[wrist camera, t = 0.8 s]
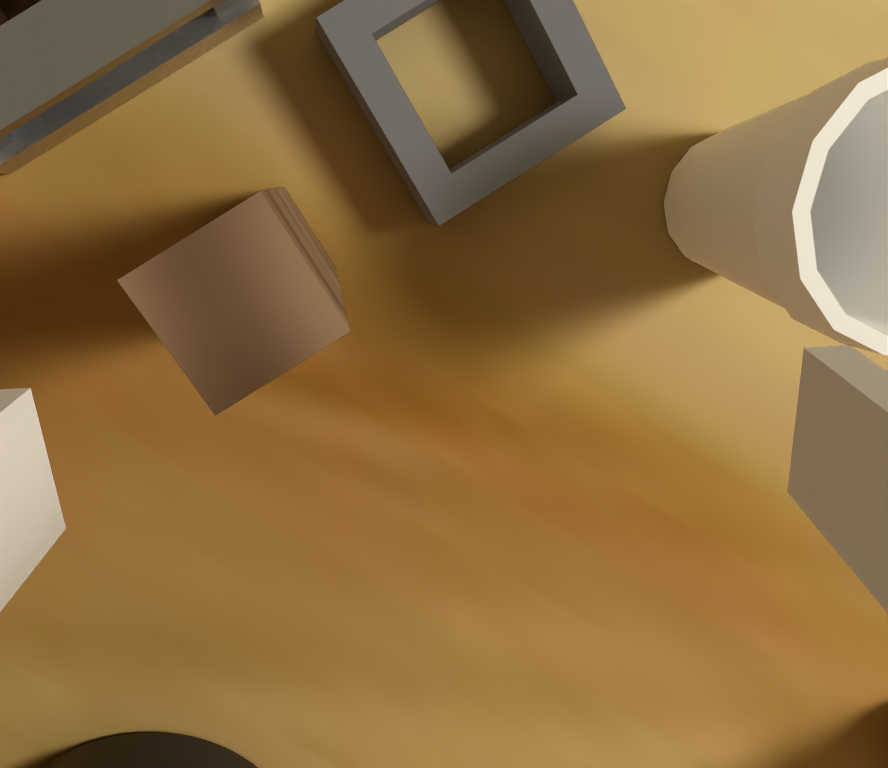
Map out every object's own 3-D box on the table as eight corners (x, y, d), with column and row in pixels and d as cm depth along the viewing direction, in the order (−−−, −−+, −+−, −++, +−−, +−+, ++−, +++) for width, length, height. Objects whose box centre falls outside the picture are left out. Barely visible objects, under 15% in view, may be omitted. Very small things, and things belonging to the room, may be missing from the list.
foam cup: (592, 184, 37) (738, 184, 25) (752, 50, 37) (979, -20, 24) (705, 342, 40) (888, 413, 27) (855, 217, 40) (1108, 231, 27)
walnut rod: (257, 316, 36) (215, 415, 21) (204, 236, 35) (117, 280, 20) (335, 267, 36) (350, 331, 21) (284, 186, 35) (259, 191, 20)
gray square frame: (428, 222, 36) (438, 225, 33) (315, 31, 34) (316, 17, 31) (600, 115, 36) (626, 108, 34) (501, -84, 34) (519, -109, 31)
